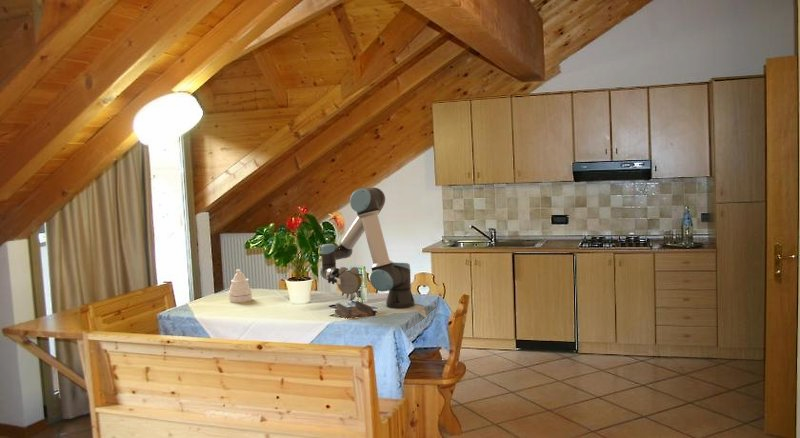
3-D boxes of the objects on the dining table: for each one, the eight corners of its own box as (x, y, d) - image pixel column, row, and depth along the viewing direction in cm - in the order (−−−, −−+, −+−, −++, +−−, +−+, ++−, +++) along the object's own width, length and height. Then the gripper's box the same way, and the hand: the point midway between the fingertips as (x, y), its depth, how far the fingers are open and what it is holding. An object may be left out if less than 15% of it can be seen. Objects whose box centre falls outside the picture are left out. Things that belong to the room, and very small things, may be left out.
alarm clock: (362, 295, 348) (361, 266, 347) (357, 298, 342) (355, 268, 341) (341, 295, 352) (340, 266, 351) (336, 297, 346) (334, 268, 345)
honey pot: (249, 302, 392) (247, 270, 390) (226, 302, 392) (224, 271, 391) (254, 297, 405) (252, 267, 403) (232, 298, 405) (230, 268, 403)
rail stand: (360, 309, 361) (359, 300, 361) (373, 315, 345) (373, 306, 344) (334, 312, 355) (334, 303, 355) (347, 319, 339) (346, 310, 338)
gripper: (356, 279, 370) (373, 285, 350) (314, 284, 360) (329, 290, 340) (356, 265, 369) (372, 270, 350) (314, 270, 359) (328, 275, 339)
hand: (351, 280), depth 345 cm, fingers closed on alarm clock, 11 cm apart
